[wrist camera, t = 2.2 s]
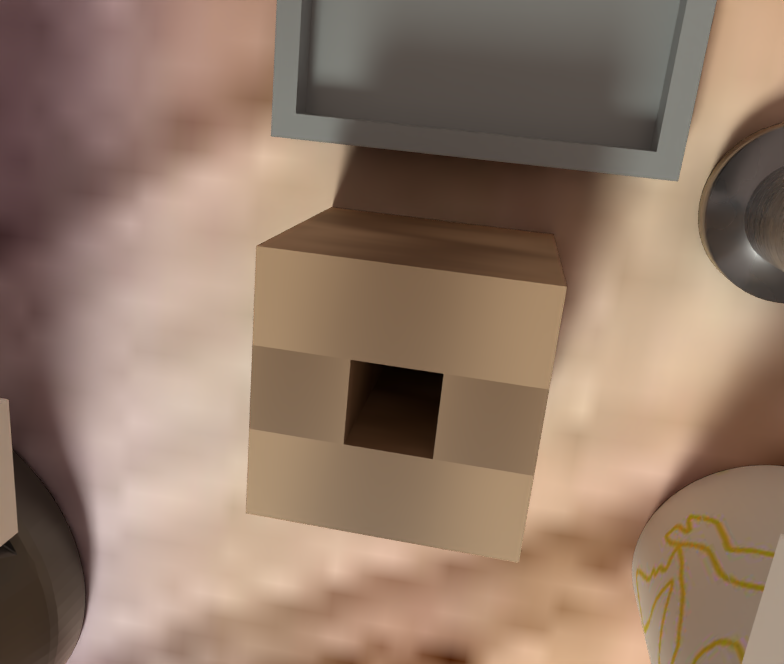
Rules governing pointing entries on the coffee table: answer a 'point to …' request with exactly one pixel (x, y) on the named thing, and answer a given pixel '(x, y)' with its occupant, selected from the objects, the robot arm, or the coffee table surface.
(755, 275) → the post
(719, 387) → the coffee table surface
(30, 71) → the coffee table surface
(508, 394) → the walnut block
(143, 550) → the coffee table surface
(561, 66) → the tray
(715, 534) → the cup
